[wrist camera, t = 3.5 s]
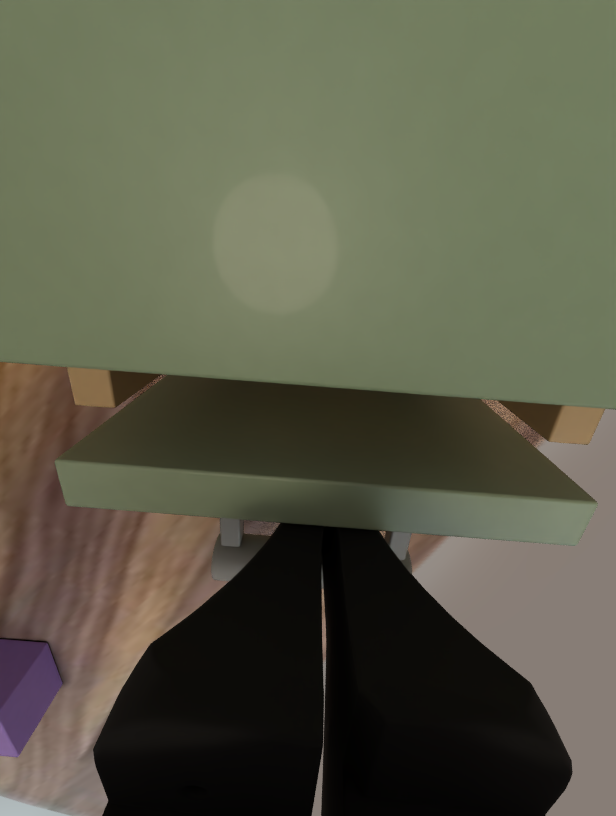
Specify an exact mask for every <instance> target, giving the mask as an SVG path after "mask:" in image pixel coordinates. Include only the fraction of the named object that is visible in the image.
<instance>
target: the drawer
mask: <svg viewBox="0 0 616 816" xmlns="http://www.w3.org/2000/svg"><path fill="white" fill-rule="evenodd" d="M67 370H68V375H69V379H70V384H71V388H72V393H73V397H74V402H75V404H76V405H83V406H96V407H109V408H115V407H117V406H118V405H119V404H121V403H122V402H124V401H125V400H126V399H128V398H129V397H131V396H132V395H133V394H135V393H136V392H137V391H139V390H140V389H142V388H143V387H144V386H146V385H147V384H148V383H150V382H151V381H153V380H154V379H155V378H157V377H158V376H160V375H161V374H151V373H138V372H125V371H112V370H99V369H87V368H74V367H67ZM497 401H499V400H497ZM499 402H500V403H501V404H502V405H504V406H505V407H506V408H507V409H509V410H510V411H511V412H512V413H514V414H515V415H516V416H517V417H519V418H520V419H521V420H522V421H524V422H525V423H526V424H527V425H529V426H530V427H531V428H532V429H534V430H535V431H536V432H537V433H539V434H540V435H541V436H542V437H544V438H545V439H546V440H547V441H549V442H559V443H572V444H584V445H588V444H589V443H590V441H591V439H592V436H593V434H594V432H595V430H596V428H597V426H598V423H599V421H600V419H601V417H602V415H603V413H604V410H605V409H602V408H590V407H577V406H564V405H551V404H538V403H525V402H512V401H499ZM55 466H56V470H57V473H58V477H59V481H60V484H61V488H62V492H63V496H64V499H65V503H66V505H68V506H75V507H88V508H101V509H113V510H126V511H139V512H151V513H164V514H177V515H189V516H202V517H215V518H220V534H219V536H218V538H217V540H216V543H215V547H214V551H213V557H212V566H211V573H212V578H213V579H214V580H222V581H230V580H231V579H232V578H233V577H234V576H235V575H236V574H237V573H238V572H239V571H240V570H241V569H242V568H243V567H244V566H245V565H246V564H247V563H248V562H249V561H250V560H251V559H252V558H253V557H254V556H255V555H256V553H257V552H258V551H259V550H260V549H261V548H262V547H263V545H264V544H265V543H266V542H267V540H268V539H269V538H270V537H271V536H267V535H254V534H244V520H253V521H265V522H278V523H291V524H303V525H316V526H329V527H341V528H354V529H367V530H379V531H386V533H385V538H384V539H385V541H386V542H387V543H388V545H389V546H390V548H391V549H392V550H393V552H394V553H395V554H396V556H397V557H398V558H399V560H400V561H401V562H402V563H403V565H404V566H405V567H406V568H407V569H408V571H409V572H410V573H411V574H412V566H411V559H410V555H409V552H408V550H407V549H408V545H409V541H410V537H411V533H417V534H430V535H443V536H457V537H469V538H482V539H493V540H506V541H520V542H533V543H545V544H557V545H570V546H576V545H577V544H578V543H579V540H580V539H581V537H582V535H583V533H584V531H585V529H586V527H587V525H588V523H589V521H590V519H591V517H592V515H593V513H594V511H595V509H596V508H597V505H598V503H597V501H595V500H594V499H593V498H592V497H591V496H590V495H589V494H587V493H586V492H585V491H584V490H583V489H582V488H580V487H579V486H578V485H577V484H576V483H575V482H574V481H572V479H570V478H569V477H568V476H567V475H566V474H565V473H563V472H562V471H561V470H560V469H559V468H558V467H557V466H556V465H555V464H553V463H552V462H551V461H550V460H549V459H548V458H547V457H545V456H544V455H543V454H542V453H541V452H540V451H539V450H537V449H536V448H535V447H534V446H533V445H532V444H531V443H530V442H528V441H527V440H526V439H525V438H524V437H523V436H522V435H520V434H519V433H518V432H517V431H516V430H515V429H514V428H512V427H511V426H510V425H509V424H508V423H507V422H506V421H505V420H503V419H502V418H501V417H500V416H499V415H498V414H497V413H495V412H494V411H493V410H492V409H491V408H490V407H489V406H488V405H486V404H485V403H484V402H483V401H482V400H481V399H473V398H461V397H448V396H435V395H422V394H409V393H396V392H383V391H370V390H357V389H344V388H332V387H319V386H306V385H293V384H280V383H267V382H254V381H241V380H228V379H216V378H203V377H190V376H177V375H167V376H165V377H164V378H163V379H161V380H160V381H159V382H157V383H156V384H155V385H153V386H152V387H151V388H149V389H148V390H147V391H145V392H144V393H143V394H141V395H140V396H139V397H137V398H136V399H135V400H134V401H132V402H131V403H130V404H128V405H127V406H126V407H124V408H123V409H122V410H120V411H119V412H118V413H116V414H115V415H114V416H112V417H111V418H110V419H108V420H107V421H106V422H104V423H103V424H102V425H101V426H99V427H98V428H97V429H95V430H94V431H93V432H91V433H90V434H89V435H87V436H86V437H85V438H83V439H82V440H81V441H79V442H78V443H77V444H75V445H74V446H73V447H71V448H70V449H69V450H67V451H66V452H65V453H64V454H62V455H61V456H60V457H58V458H57V459H56V460H55ZM322 589H324V584H323V567H322Z"/></svg>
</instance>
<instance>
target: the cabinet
mask: <svg viewBox="0 0 616 816" xmlns="http://www.w3.org/2000/svg"><path fill="white" fill-rule="evenodd" d="M0 362H9V363H22V364H35V365H48V366H61V367H74V368H87V369H99V370H112V371H125V372H138V373H151V374H164V375H177V376H190V377H203V378H216V379H228V380H241V381H254V382H267V383H280V384H293V385H306V386H319V387H332V388H344V389H357V390H370V391H383V392H396V393H409V394H422V395H435V396H448V397H461V398H473V399H486V400H499V401H512V402H525V403H538V404H551V405H564V406H577V407H590V408H602V409H615V410H616V0H0Z"/></svg>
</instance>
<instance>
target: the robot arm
mask: <svg viewBox="0 0 616 816" xmlns="http://www.w3.org/2000/svg"><path fill="white" fill-rule="evenodd" d="M322 567H323V584H324V601H325V618H326V685H325V687H326V688H325V720H324V752H323V754H324V755H323V783H322V784H323V785H322V810H321V816H545V814H546V813H547V812H548V810H549V809H550V808H551V807H552V805H553V804H554V803H555V802H556V800H557V799H558V798H559V797H560V796H561V794H562V793H563V792H564V791H565V789H566V787H567V785H568V783H569V781H570V779H571V775H572V762H571V759H570V757H569V755H568V753H567V751H566V748H565V746H564V744H563V742H562V740H561V738H560V736H559V734H558V732H557V730H556V728H555V726H554V724H553V722H552V720H551V718H550V716H549V714H548V712H547V710H546V709H545V707H544V705H543V704H542V702H541V700H540V699H539V697H538V695H537V694H536V692H535V690H534V688H533V686H532V684H531V683H530V682H529V681H528V680H526V679H525V678H524V677H523V676H521V675H520V674H519V673H518V672H516V671H515V670H514V669H513V668H511V667H510V666H509V665H508V664H507V663H505V662H504V661H503V660H502V659H500V658H499V657H498V656H496V655H495V654H494V653H493V652H492V651H490V650H489V649H488V648H487V647H485V646H484V645H483V644H482V643H481V642H479V641H478V640H477V639H476V638H475V637H474V636H473V635H472V634H471V633H469V632H468V631H467V630H466V629H465V628H464V627H463V626H462V625H460V624H459V623H458V622H457V621H456V620H455V619H454V618H453V617H452V616H451V615H450V614H449V613H448V612H446V610H445V609H444V608H443V607H442V606H441V605H440V604H439V603H438V602H437V601H436V600H435V599H434V598H433V597H432V596H431V595H430V594H429V593H428V592H427V591H426V590H425V589H424V588H423V587H422V586H421V584H420V583H419V582H418V581H417V580H416V579H415V578H414V576H413V575H412V574H411V573H410V572H409V571H408V569H407V568H406V567H405V566H404V565H403V563H402V562H401V561H400V560H399V558H398V557H397V556H396V554H395V553H394V552H393V550H392V549H391V548H390V546H389V545H388V543H387V542H386V541H385V539H384V538H383V536H382V535H381V533H380V532H379V530H367V529H354V528H341V527H329V526H316V525H303V524H291V523H280V524H279V526H278V527H277V529H276V530H275V531H274V533H273V534H272V535H271V537H270V538H269V539H268V540H267V542H266V543H265V544H264V545H263V547H262V548H261V549H260V550H259V551H258V552H257V553H256V555H255V556H254V557H253V558H252V559H251V560H250V561H249V562H248V563H247V564H246V565H245V566H244V567H243V568H242V569H241V570H240V571H239V572H238V573H237V574H236V575H235V576H234V577H233V578H232V579H231V580H230V581H229V582H228V583H227V584H226V585H225V586H224V587H222V588H221V589H220V590H219V591H218V592H217V593H216V594H214V595H213V596H212V597H211V598H210V599H209V600H207V601H206V602H205V603H204V604H203V605H202V606H200V607H199V608H198V609H197V610H196V611H194V612H193V613H192V614H191V615H189V616H188V617H186V618H185V619H184V620H182V621H181V622H180V623H178V624H177V625H176V626H174V627H173V628H172V629H170V630H169V631H168V632H166V633H165V634H164V635H162V636H161V637H159V638H158V639H157V640H155V641H154V642H153V643H151V644H150V646H149V647H148V648H147V650H146V651H145V653H144V654H143V656H142V657H141V659H140V660H139V662H138V663H137V665H136V666H135V668H134V670H133V671H132V673H131V675H130V676H129V678H128V680H127V681H126V683H125V685H124V686H123V688H122V690H121V692H120V693H119V695H118V697H117V699H116V701H115V704H114V706H113V708H112V710H111V712H110V714H109V716H108V719H107V721H106V723H105V725H104V727H103V729H102V731H101V734H100V736H99V738H98V740H97V742H96V744H95V746H94V748H93V752H94V760H95V765H96V768H97V771H98V774H99V776H100V779H101V782H102V784H103V787H104V790H105V792H106V795H107V798H108V800H109V801H108V803H107V806H106V808H105V810H104V813H103V815H102V816H311V815H312V808H313V803H314V797H315V791H316V784H317V779H318V773H319V766H320V760H321V754H322V748H323V714H324V713H323V712H324V709H323V708H324V689H323V654H322Z"/></svg>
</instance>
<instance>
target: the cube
mask: <svg viewBox="0 0 616 816" xmlns="http://www.w3.org/2000/svg"><path fill="white" fill-rule="evenodd" d="M61 686H62V680H61V678H60V675H59V672H58V670H57V667H56V664H55V662H54V659H53V656H52V654H51V651H50V648H49V646H48V643H44V642H32V641H19V640H7V639H0V756H10V757H18V756H19V755H20V753H21V751H22V750H23V748H24V747H25V745H26V743H27V742H28V740H29V738H30V737H31V735H32V733H33V732H34V730H35V728H36V727H37V725H38V723H39V722H40V720H41V719H42V717H43V715H44V714H45V712H46V710H47V709H48V707H49V705H50V704H51V702H52V700H53V699H54V697H55V695H56V694H57V692H58V691H59V689H60V687H61Z"/></svg>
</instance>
